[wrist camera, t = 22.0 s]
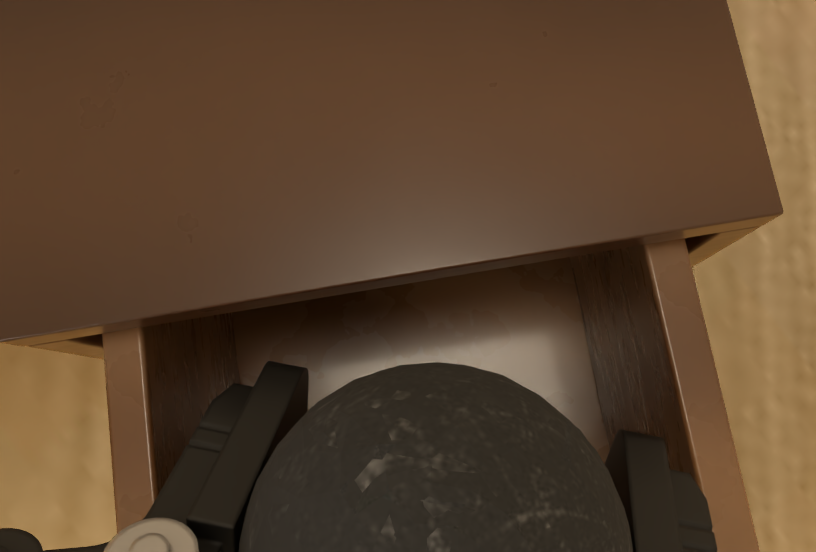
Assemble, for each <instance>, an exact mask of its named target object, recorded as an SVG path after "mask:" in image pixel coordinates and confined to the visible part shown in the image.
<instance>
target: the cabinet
mask: <svg viewBox="0 0 816 552" xmlns="http://www.w3.org/2000/svg"><path fill="white" fill-rule="evenodd" d="M781 214H783V208H782V205H781V201H780V197H779V194H778V190H777V186H776V182H775V179H774V175H773V171H772V168H771V164H770V160H769V156H768V153H767V149H766V145H765V142H764V138H763V134H762V130H761V127H760V123H759V119H758V116H757V112H756V108H755V104H754V101H753V97H752V93H751V90H750V86H749V82H748V78H747V75H746V71H745V67H744V64H743V60H742V56H741V53H740V49H739V45H738V41H737V38H736V34H735V30H734V27H733V23H732V19H731V15H730V12H729V8H728V4H727V1H726V0H0V342H1V343H6V344H12V345H18V346H29V347H34V348H40V349H46V350H52V351H58V352H63V353H69V354H75V355H81V356H87V357H93V358H99V359H104V351H103V338H102V334H103V333H109V332H115V331H121V330H127V329H133V328H139V327H145V326H151V325H158V324H164V323H170V322H176V321H182V320H188V319H194V318H200V317H206V316H213V315H219V314H225V313H231V312H237V311H243V310H249V309H255V308H261V307H267V306H274V305H280V304H286V303H292V302H298V301H304V300H310V299H316V298H322V297H329V296H335V295H341V294H347V293H353V292H359V291H365V290H371V289H377V288H383V287H390V286H396V285H402V284H408V283H414V282H420V281H426V280H432V279H438V278H445V277H451V276H457V275H463V274H469V273H475V272H481V271H487V270H493V269H499V268H506V267H512V266H518V265H524V264H530V263H536V262H542V261H548V260H554V259H560V258H567V257H573V256H579V255H585V254H591V253H597V252H603V251H609V250H615V249H622V248H628V247H634V246H640V245H646V244H652V243H658V242H664V241H670V240H676V239H683V238H685V242H686V246H687V250H688V254H689V258H690V263H691V267H693V266H695V265H696V264H698V263H700V262H701V261H703V260H705V259H707V258H708V257H710V256H712V255H713V254H715V253H717V252H718V251H720V250H722V249H723V248H725V247H727V246H728V245H730V244H732V243H734V242H735V241H737V240H739V239H740V238H742V237H744V236H745V235H747V234H749V233H750V232H752V231H754V230H755V229H757V228H759V227H760V226H762V225H764V224H766V223H768V222H769V221H771V220H773V219H774V218H776V217H778V216H780V215H781Z"/></svg>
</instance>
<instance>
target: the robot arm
mask: <svg viewBox="0 0 816 552" xmlns="http://www.w3.org/2000/svg"><path fill="white" fill-rule="evenodd" d="M308 384H309V372H308V369H307V368H304V367H299V366H294V365H289V364H284V363H278V362H273V361H268V362H266V364H265V365H264V367H263V369H262V371H261V373H260V375H259V377H258V379H257V381H256V383H255V384H254V386H253V387H252V386H247V385H242V384H237V383H234V384H232V385H231V386H230V387H228V388H227V389H226V390H225V391H223V392H222V393H221V394H220V395H218V396H217V397H216V398H214V399H213V400H212V402H211V403H210V405H209V407H208V409H207V410H206V412H205V414H204V416H203V417H202V419H201V421H200V424H199V427H197V428H196V430H195V431H194V433H193V435H192V437H191V438H190V440H189V444H188V445H186V447H185V449H184V451H183V452H182V454H181V456H180V458H179V459H178V461H177V463H176V465H175V466H174V468H173V470H172V472H171V473H170V475H169V477H168V479H167V480H166V482H165V484H164V486H163V487H162V489H161V491H160V493H159V494H158V496H157V498H156V500H155V501H154V503H153V505H152V507H151V508H150V510H149V512H148V513H147V515H146V516H145V517H144V519H143V520H141V521H138V522H135V523H133V524H131V525H129V526H127V527H126V528H124V529H123V530H121V531H120V532H119V533H118V534H116V535H115V536H114V537H113V538H112V540H111V541H110V542H107V543H104V544H100V545H95V546H89V547H78V548H67V549H56V550H45V551H43V549H42V546H41V544H40V543H39V541H38V539H36V538H35V537H34V536H33V535H32V534H30V533H28V532H26V531H23V530H20V529H13V528H2V529H0V552H239V543H240V538H241V533H242V528H243V523H244V518H245V514H246V509H247V506H248V503H249V500H250V497H251V495H252V492H253V489H254V486H255V484H256V481H257V479H258V477H259V476H260V474H261V472H262V470H263V469H264V467H265V465H266V464H267V462H268V460H269V458H270V457H271V455H272V453H273V451H274V450H275V448H276V446H277V445H278V444H279V442H280V441H281V440H282V439H283V438H284V437H285V436H286V435H287V433H288V432H289V431H290V430H291V429H292V428H293V427H294V425H295V424H296V423H297V422H298V421H299V420H300V419H301V418H302V417H303V416H304V415H305V414H306V413H307V412H308ZM605 466H606V467H607V469H608V471H609V473H610V475H611V478H612V480H613V483H614V485H615V488H616V490H617V492H618V494H619V497H620V499H621V501H622V504H623V506H624V509H625V512H626V516H627V520H628V523H629V528H630V534H631V540H632V548H633V552H717V544H716V539H715V535H714V532H712V528H713V525H712V521H711V516H710V511H709V507H708V502H707V499H706V497H705V496H704V494H703V493H702V491H701V490H700V488H699V487H698V485H697V484H696V482H695V481H694V479H693V478H692V476H691V474H690V473H686V472H681V471H676V470H671V469H669V463H668V457H667V451H666V445H665V442H664V439H663V438H662V437H658V436H653V435H648V434H642V433H637V432H632V431H627V430H622V429H619V430H618V431H617V433H616V435H615V437H614V440H613V443H612V446H611V448H610V451H609V454H608V456H607V459H606V462H605Z"/></svg>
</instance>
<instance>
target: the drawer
mask: <svg viewBox="0 0 816 552" xmlns="http://www.w3.org/2000/svg"><path fill="white" fill-rule="evenodd" d="M102 338H103V351H104V364H105V377H106V390H107V404H108V417H109V430H110V443H111V456H112V469H113V483H114V496H115V509H116V522H117V534H118V533H119V532H120V531H121V530H123V529H124V528H126V527H127V526H129V525H131V524H133V523H135V522H138V521H141V520H143V519H144V517H145V516H146V515H147V513H148V512H149V510H150V508H151V507H152V505H153V503H154V501H155V500H156V498H157V496H158V494H159V493H160V491H161V489H162V487H163V486H164V484H165V482H166V480H167V479H168V477H169V475H170V473H171V472H172V470H173V468H174V466H175V465H176V463H177V461H178V459H179V458H180V456H181V454H182V452H183V451H184V449H185V447H186V445H188V444H189V440H190V438H191V437H192V435H193V433H194V431H195V430H196V428H197V427H199V424H200V421H201V419H202V417H203V416H204V414H205V412H206V410H207V409H208V407H209V405H210V403H211V402H212V400H213V399H214V398H216V397H217V396H218V395H220V394H221V393H222V392H223V391H225V390H226V389H227V388H228V387H230V386H231V385H232V384H234V383H237V384H242V385H247V386H252V387H253V386H254V384H255V383H256V381H257V379H258V377H259V375H260V373H261V371H262V369H263V367H264V365H265V364H266V362H268V361H273V362H278V363H284V364H289V365H294V366H299V367H304V368H307V369H308V372H309V384H308V410H309V409H310V408H311V407H312V406H314V405H315V404H316V403H317V402H318V401H320V400H322V399H323V398H325V397H326V396H328V395H330V394H331V393H333V392H335V391H336V390H338V389H339V388H341V387H343V386H344V385H346V384H347V383H349V382H351V381H352V380H354V379H357V378H360V377H364V376H367V375H370V374H373V373H375V372H378V371H380V370H384V369H389V368H392V367H396V366H399V365H408V364H420V363H433V362H440V363H450V364H461V365H466V366H472V367H475V368H478V369H482V370H486V371H490V372H494V373H497V374H501V375H504V376H506V377H507V378H509V379H511V380H513V381H515V382H516V383H518V384H520V385H522V386H524V387H526V388H527V389H529V390H531V391H533V392H535V393H537V394H538V395H540V396H541V397H542V398H544V399H545V400H546V401H547V402H548V403H550V404H551V405H552V406H553V407H554V408H556V409H557V410H558V411H559V412H560V413H562V414H563V415H564V416H565V417H566V418H568V419H569V420H570V421H571V422H572V423H573V424H574V425H575V426H576V427H577V428H579V429H580V430H581V432H582V433H583V435H584V436H585V437H586V439H587V440H588V441H589V442H590V444H591V445H592V446H593V447H594V448H595V449H596V450H597V452H598V454H599V455H600V457H601V459H602V461H603V463H604V464H605V462H606V459H607V456H608V454H609V451H610V448H611V446H612V443H613V440H614V437H615V435H616V433H617V431H618V430H619V429H622V430H627V431H632V432H637V433H642V434H648V435H653V436H658V437H662V438H663V439H664V442H665V445H666V451H667V457H668V463H669V469H671V470H676V471H681V472H686V473H690V474H691V476H692V478H693V479H694V481H695V482H696V484H697V485H698V487H699V488H700V490H701V491H702V493H703V494H704V496H705V497H706V499H707V502H708V507H709V511H710V516H711V521H712V525H713V528H712V532H714V535H715V539H716V544H717V552H760V550H759V546H758V542H757V538H756V534H755V529H754V525H753V521H752V517H751V513H750V509H749V504H748V500H747V496H746V492H745V488H744V484H743V479H742V475H741V471H740V467H739V463H738V459H737V454H736V450H735V446H734V442H733V438H732V434H731V429H730V425H729V421H728V417H727V413H726V408H725V404H724V400H723V396H722V392H721V388H720V383H719V379H718V375H717V371H716V367H715V363H714V358H713V354H712V350H711V346H710V342H709V338H708V333H707V329H706V325H705V321H704V317H703V313H702V308H701V304H700V300H699V296H698V292H697V288H696V283H695V279H694V275H693V271H692V267H691V263H690V258H689V254H688V250H687V246H686V242H685V238H683V239H676V240H670V241H664V242H658V243H652V244H646V245H640V246H634V247H628V248H622V249H615V250H609V251H603V252H597V253H591V254H585V255H579V256H573V257H567V258H560V259H554V260H548V261H542V262H536V263H530V264H524V265H518V266H512V267H506V268H499V269H493V270H487V271H481V272H475V273H469V274H463V275H457V276H451V277H445V278H438V279H432V280H426V281H420V282H414V283H408V284H402V285H396V286H390V287H383V288H377V289H371V290H365V291H359V292H353V293H347V294H341V295H335V296H329V297H322V298H316V299H310V300H304V301H298V302H292V303H286V304H280V305H274V306H267V307H261V308H255V309H249V310H243V311H237V312H231V313H225V314H219V315H213V316H206V317H200V318H194V319H188V320H182V321H176V322H170V323H164V324H158V325H151V326H145V327H139V328H133V329H127V330H121V331H115V332H109V333H103V334H102Z"/></svg>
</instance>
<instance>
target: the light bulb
mask: <svg viewBox="0 0 816 552" xmlns="http://www.w3.org/2000/svg"><path fill="white" fill-rule="evenodd" d="M239 552H633V548H632V540H631V534H630V528H629V523H628V520H627V516H626V512H625V509H624V506H623V504H622V501H621V499H620V497H619V494H618V492H617V490H616V488H615V485H614V483H613V480H612V478H611V475H610V473H609V471H608V469H607V467H606V466H605V464H604V463H603V461H602V459H601V457H600V455H599V454H598V452H597V450H596V449H595V448H594V447H593V446H592V445H591V444H590V442H589V441H588V440H587V439H586V437H585V436H584V435H583V433H582V432H581V430H580V429H579V428H577V427H576V426H575V425H574V424H573V423H572V422H571V421H570V420H569V419H568V418H566V417H565V416H564V415H563V414H562V413H560V412H559V411H558V410H557V409H556V408H554V407H553V406H552V405H551V404H550V403H548V402H547V401H546V400H545V399H544V398H542V397H541V396H540V395H538V394H537V393H535V392H533V391H531V390H529V389H527V388H526V387H524V386H522V385H520V384H518V383H516V382H515V381H513V380H511V379H509V378H507V377H506V376H504V375H501V374H497V373H494V372H490V371H486V370H482V369H478V368H475V367H472V366H466V365H461V364H450V363H440V362H433V363H420V364H408V365H399V366H396V367H392V368H389V369H384V370H380V371H378V372H375V373H373V374H370V375H367V376H364V377H360V378H357V379H354V380H352V381H351V382H349V383H347V384H346V385H344V386H343V387H341V388H339V389H338V390H336V391H335V392H333V393H331V394H330V395H328V396H326V397H325V398H323V399H322V400H320V401H318V402H317V403H316V404H315V405H314V406H312V407H311V408H310V409H309V410H308V412H307V413H306V414H305V415H304V416H303V417H302V418H301V419H300V420H299V421H298V422H297V423H296V424H295V425H294V427H293V428H292V429H291V430H290V431H289V432H288V433H287V435H286V436H285V437H284V438H283V439H282V440H281V441H280V442H279V444H278V445H277V446H276V448H275V450H274V451H273V453H272V455H271V457H270V458H269V460H268V462H267V464H266V465H265V467H264V469H263V470H262V472H261V474H260V476H259V477H258V479H257V481H256V484H255V486H254V489H253V492H252V495H251V497H250V500H249V503H248V506H247V509H246V514H245V518H244V523H243V528H242V533H241V538H240V543H239Z"/></svg>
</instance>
